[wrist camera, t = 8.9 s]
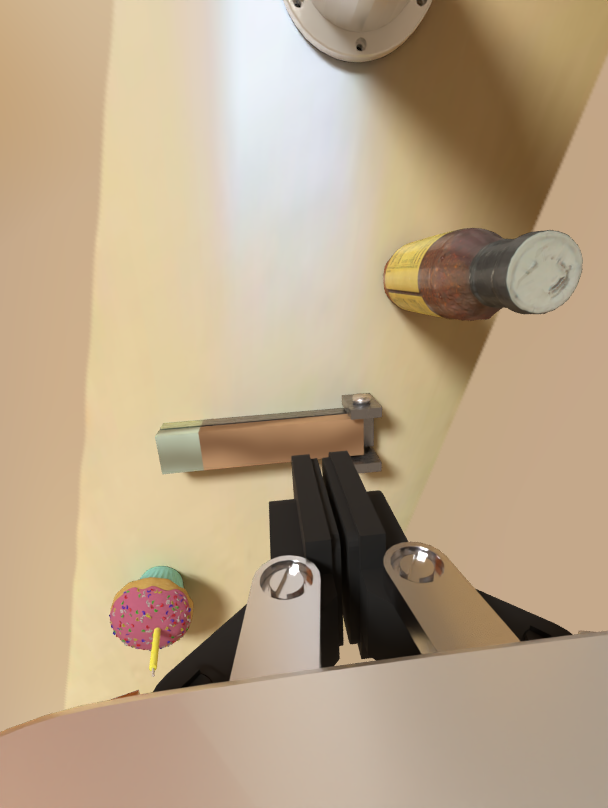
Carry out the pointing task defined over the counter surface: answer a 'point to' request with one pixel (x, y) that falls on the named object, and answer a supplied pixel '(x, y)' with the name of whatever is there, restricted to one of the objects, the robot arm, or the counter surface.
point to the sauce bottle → (483, 273)
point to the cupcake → (152, 611)
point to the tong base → (353, 406)
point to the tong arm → (257, 442)
